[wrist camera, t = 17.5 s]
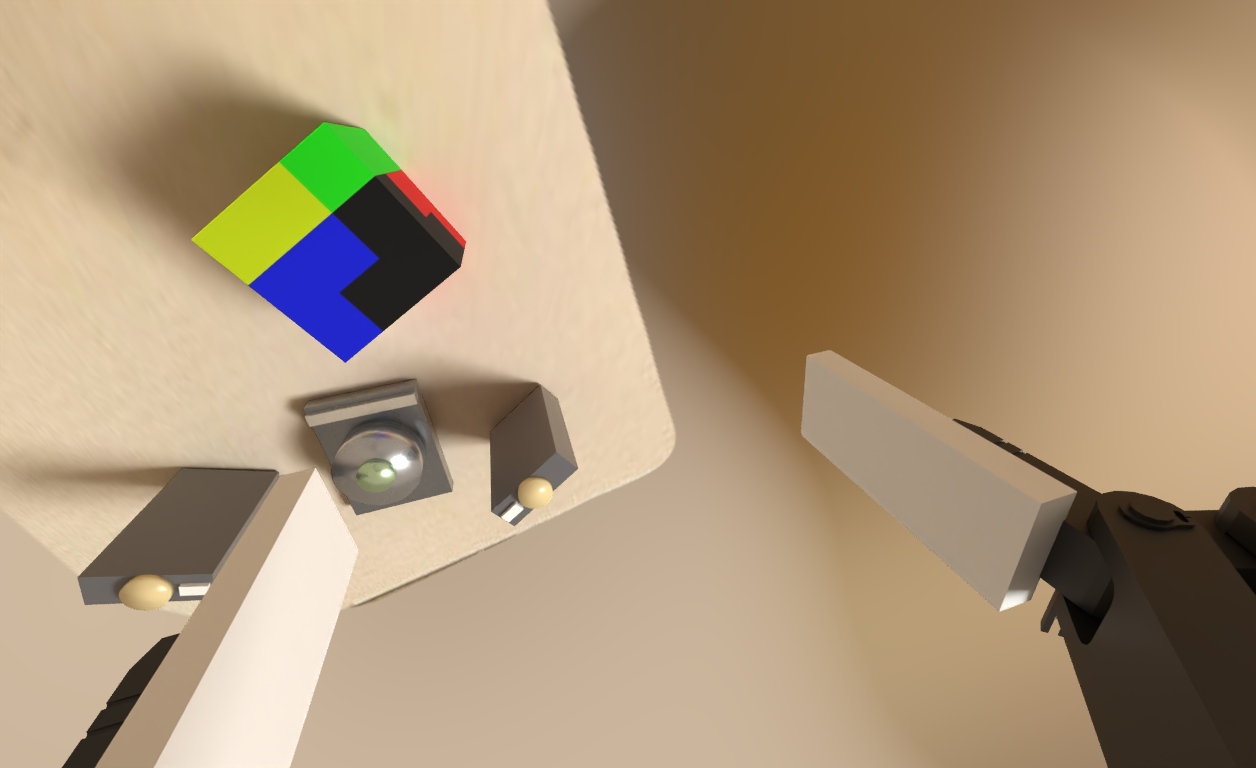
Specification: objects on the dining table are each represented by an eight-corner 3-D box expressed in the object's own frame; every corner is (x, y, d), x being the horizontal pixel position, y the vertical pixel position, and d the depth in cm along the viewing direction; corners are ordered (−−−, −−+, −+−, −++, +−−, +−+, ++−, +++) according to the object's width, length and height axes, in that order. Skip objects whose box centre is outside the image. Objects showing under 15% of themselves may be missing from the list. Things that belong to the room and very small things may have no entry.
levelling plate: (308, 400, 41) (286, 431, 37) (416, 378, 43) (408, 406, 38) (360, 505, 47) (346, 543, 42) (453, 482, 48) (449, 516, 44)
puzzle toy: (375, 316, 40) (345, 362, 31) (263, 217, 35) (190, 239, 26) (466, 241, 39) (460, 266, 30) (364, 129, 34) (323, 121, 26)
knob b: (539, 383, 46) (556, 455, 35) (558, 399, 47) (580, 473, 36) (489, 431, 47) (490, 516, 36) (509, 445, 48) (515, 532, 37)
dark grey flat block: (185, 492, 41) (78, 613, 31) (182, 467, 40) (69, 583, 30) (280, 494, 44) (211, 607, 33) (278, 470, 43) (207, 579, 32)
